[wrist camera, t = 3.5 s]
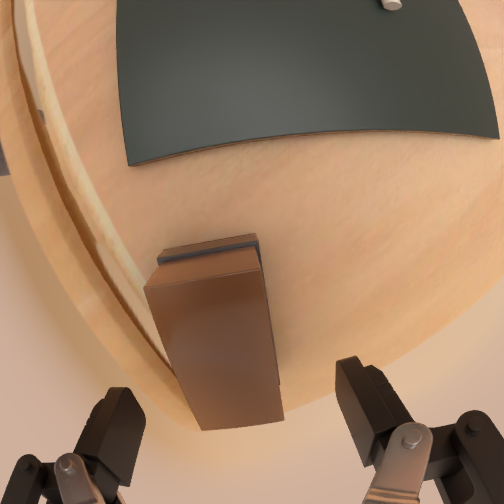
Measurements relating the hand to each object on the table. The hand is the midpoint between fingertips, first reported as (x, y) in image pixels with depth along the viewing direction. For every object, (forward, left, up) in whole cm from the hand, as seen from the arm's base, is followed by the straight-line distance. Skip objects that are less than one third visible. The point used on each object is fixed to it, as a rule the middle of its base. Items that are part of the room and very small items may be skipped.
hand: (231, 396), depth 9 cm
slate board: (+9, +19, -6) cm, 22 cm away
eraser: (0, 0, -6) cm, 6 cm away
